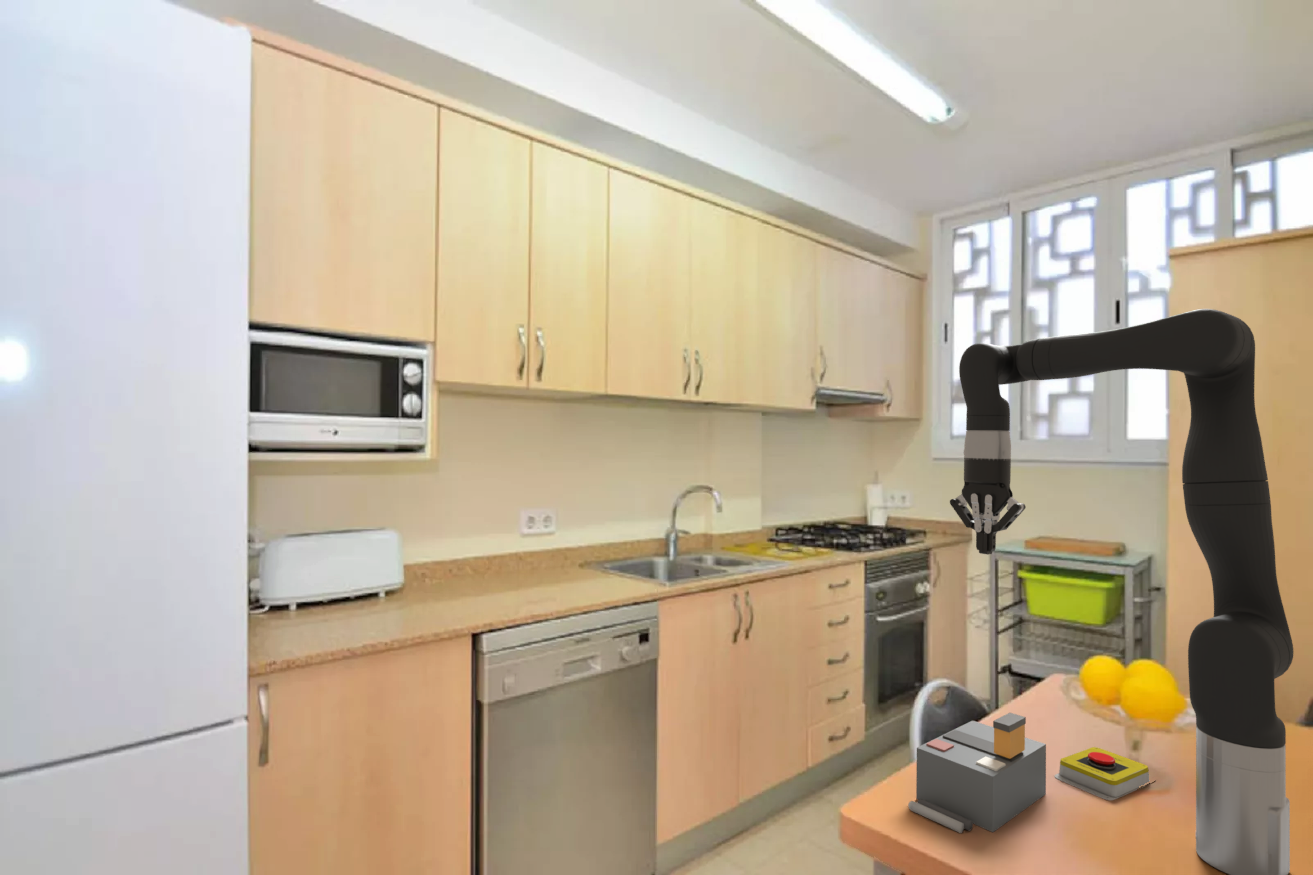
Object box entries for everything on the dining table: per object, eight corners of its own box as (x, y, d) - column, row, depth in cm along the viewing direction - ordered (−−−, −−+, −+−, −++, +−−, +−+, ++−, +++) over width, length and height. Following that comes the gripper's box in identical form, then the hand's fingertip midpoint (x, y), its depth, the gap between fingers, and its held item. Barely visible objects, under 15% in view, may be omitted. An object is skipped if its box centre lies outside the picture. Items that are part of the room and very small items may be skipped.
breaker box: (1045, 794, 110) (1045, 742, 111) (992, 832, 99) (993, 774, 99) (972, 766, 120) (972, 718, 120) (916, 798, 109) (916, 745, 109)
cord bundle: (972, 829, 100) (972, 819, 100) (962, 836, 98) (962, 826, 98) (917, 804, 107) (917, 795, 107) (906, 810, 105) (906, 801, 105)
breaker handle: (1025, 749, 107) (1025, 717, 107) (1009, 759, 104) (1009, 725, 104) (1009, 744, 109) (1009, 712, 109) (993, 753, 106) (993, 720, 106)
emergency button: (1051, 753, 117) (1100, 736, 124) (1051, 779, 117) (1100, 761, 124) (1109, 776, 109) (1158, 756, 116) (1109, 804, 108) (1158, 783, 116)
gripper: (1035, 457, 120) (1033, 557, 120) (961, 455, 130) (959, 547, 130) (1016, 457, 115) (1014, 561, 115) (941, 455, 125) (939, 550, 125)
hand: (985, 553), depth 122 cm, fingers closed
